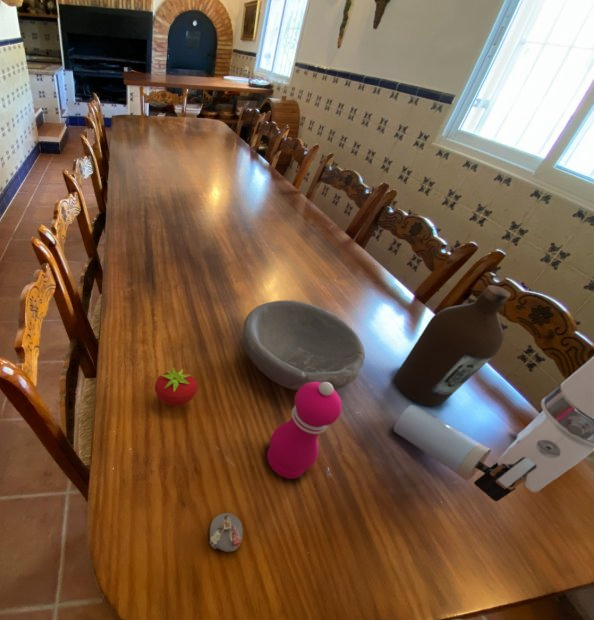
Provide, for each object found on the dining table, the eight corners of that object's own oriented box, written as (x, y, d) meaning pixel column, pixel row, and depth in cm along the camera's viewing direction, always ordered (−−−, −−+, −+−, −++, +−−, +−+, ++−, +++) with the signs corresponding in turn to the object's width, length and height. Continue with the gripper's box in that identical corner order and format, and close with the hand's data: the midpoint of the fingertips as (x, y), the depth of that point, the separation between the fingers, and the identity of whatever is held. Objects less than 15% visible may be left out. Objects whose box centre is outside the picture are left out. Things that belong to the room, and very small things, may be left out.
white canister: (409, 423, 66) (513, 489, 55) (390, 437, 64) (494, 509, 52) (418, 399, 64) (531, 463, 52) (399, 413, 61) (512, 483, 49)
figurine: (228, 512, 52) (235, 494, 49) (248, 541, 50) (258, 524, 46) (199, 533, 50) (205, 516, 46) (219, 565, 47) (227, 550, 43)
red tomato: (195, 418, 64) (203, 383, 58) (154, 419, 63) (156, 384, 57) (191, 391, 69) (198, 356, 62) (152, 392, 68) (154, 356, 61)
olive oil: (380, 371, 76) (446, 274, 60) (420, 364, 78) (494, 269, 62) (417, 414, 68) (505, 315, 52) (460, 404, 71) (557, 308, 55)
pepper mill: (262, 437, 62) (296, 359, 49) (304, 444, 62) (349, 367, 49) (265, 478, 57) (304, 402, 44) (311, 486, 56) (364, 412, 43)
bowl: (342, 343, 82) (359, 310, 76) (351, 426, 65) (375, 392, 59) (242, 319, 86) (251, 286, 80) (227, 391, 69) (237, 356, 63)
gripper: (605, 473, 37) (491, 539, 48) (651, 412, 44) (542, 482, 55) (522, 417, 42) (437, 489, 53) (575, 370, 49) (489, 443, 60)
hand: (491, 485), depth 54 cm, fingers closed on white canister, 2 cm apart
